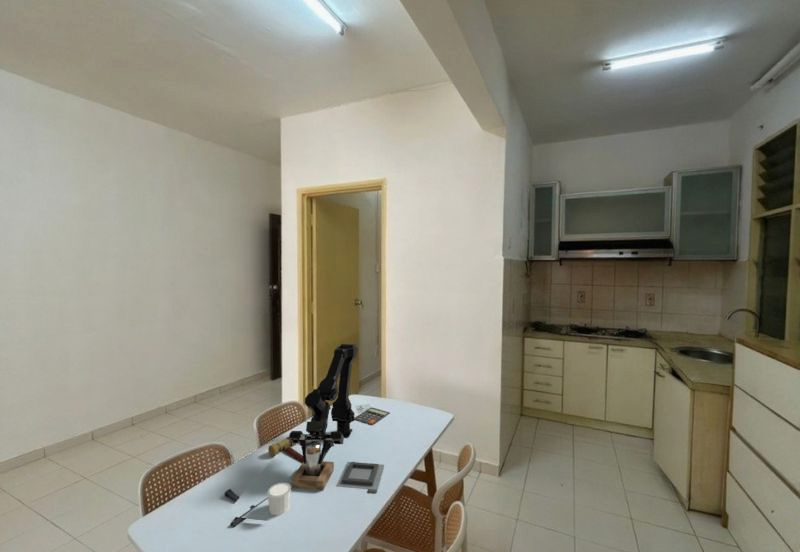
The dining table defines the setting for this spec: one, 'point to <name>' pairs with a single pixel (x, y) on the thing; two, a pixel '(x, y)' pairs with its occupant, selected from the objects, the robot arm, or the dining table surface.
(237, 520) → the bracket
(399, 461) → the dining table surface
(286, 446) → the gavel
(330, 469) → the socket block
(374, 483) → the tray
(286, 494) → the white cylinder
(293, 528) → the dining table surface
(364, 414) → the calculator
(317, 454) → the gold-topped cylinder
